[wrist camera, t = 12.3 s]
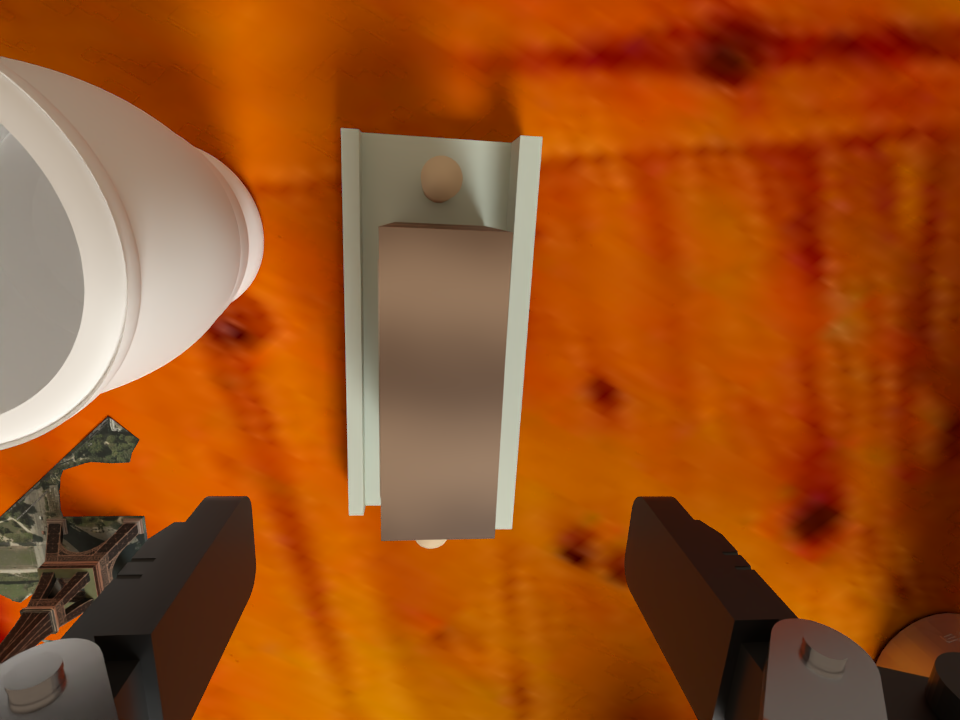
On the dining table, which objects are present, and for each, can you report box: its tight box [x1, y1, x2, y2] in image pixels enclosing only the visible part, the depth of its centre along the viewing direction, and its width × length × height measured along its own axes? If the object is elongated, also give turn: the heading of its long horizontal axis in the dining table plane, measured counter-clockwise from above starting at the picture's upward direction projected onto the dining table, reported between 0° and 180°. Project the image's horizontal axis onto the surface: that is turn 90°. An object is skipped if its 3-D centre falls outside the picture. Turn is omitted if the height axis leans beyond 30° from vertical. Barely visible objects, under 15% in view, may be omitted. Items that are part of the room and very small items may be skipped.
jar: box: [0, 56, 264, 450], centre depth 19 cm, size 11×10×15 cm
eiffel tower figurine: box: [0, 417, 147, 664], centre depth 25 cm, size 15×10×13 cm
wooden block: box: [378, 222, 513, 541], centre depth 23 cm, size 12×5×9 cm, turn 177°
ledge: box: [341, 128, 543, 548], centre depth 25 cm, size 20×9×8 cm, turn 177°
